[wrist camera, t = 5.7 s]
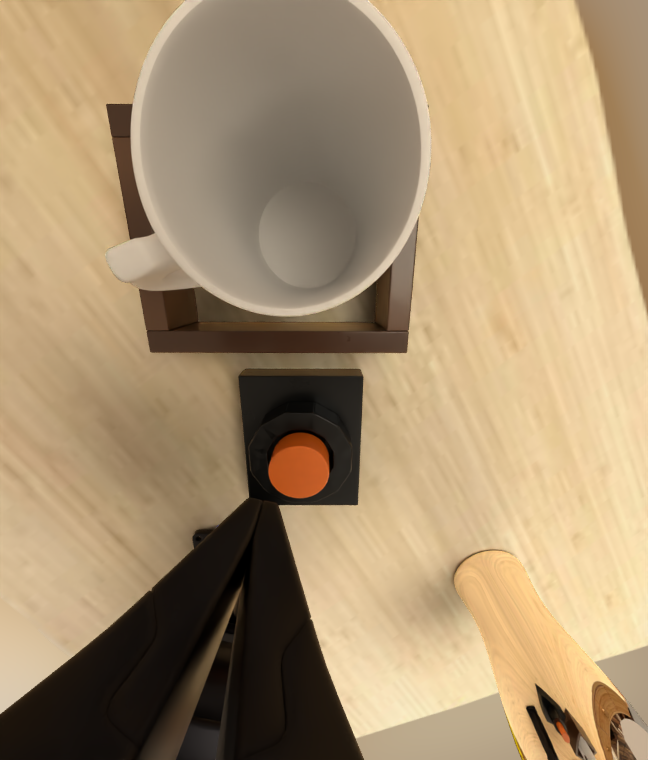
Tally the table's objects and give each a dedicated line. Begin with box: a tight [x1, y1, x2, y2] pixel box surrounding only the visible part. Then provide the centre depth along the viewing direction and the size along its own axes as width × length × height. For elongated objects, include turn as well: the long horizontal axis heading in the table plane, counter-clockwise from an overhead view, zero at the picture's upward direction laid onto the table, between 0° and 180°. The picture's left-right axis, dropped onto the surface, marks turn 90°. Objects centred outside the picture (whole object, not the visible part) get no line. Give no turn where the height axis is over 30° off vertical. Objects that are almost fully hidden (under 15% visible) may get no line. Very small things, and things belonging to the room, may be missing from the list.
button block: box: [239, 369, 363, 505], centre depth 21 cm, size 10×8×4 cm
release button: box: [268, 432, 329, 498], centre depth 18 cm, size 4×4×2 cm
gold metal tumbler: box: [454, 550, 648, 760], centre depth 19 cm, size 7×7×15 cm
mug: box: [105, 0, 431, 317], centre depth 13 cm, size 10×7×12 cm, turn 112°
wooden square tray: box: [106, 104, 429, 353], centre depth 16 cm, size 11×14×4 cm
